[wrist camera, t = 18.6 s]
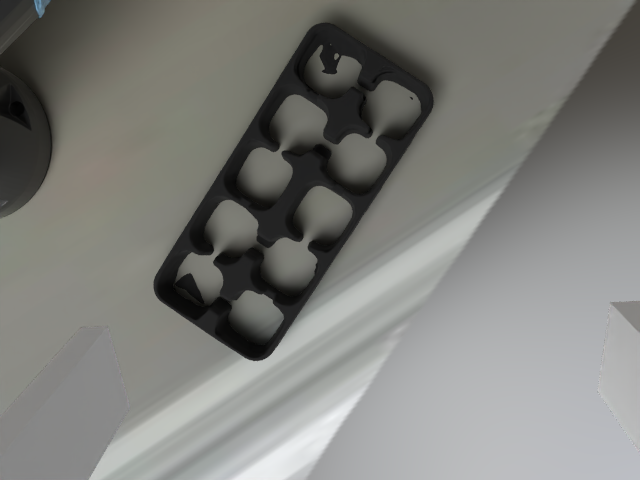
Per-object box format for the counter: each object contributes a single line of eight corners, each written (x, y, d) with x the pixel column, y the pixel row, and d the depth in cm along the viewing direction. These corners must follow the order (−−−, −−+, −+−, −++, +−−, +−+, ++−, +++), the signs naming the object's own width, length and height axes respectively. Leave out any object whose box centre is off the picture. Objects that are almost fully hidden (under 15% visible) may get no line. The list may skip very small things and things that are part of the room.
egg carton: (154, 309, 50) (138, 318, 46) (262, 9, 47) (254, -8, 43) (323, 376, 49) (321, 391, 45) (442, 76, 47) (450, 65, 43)
